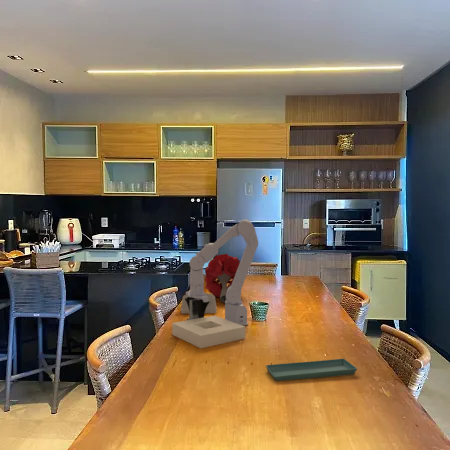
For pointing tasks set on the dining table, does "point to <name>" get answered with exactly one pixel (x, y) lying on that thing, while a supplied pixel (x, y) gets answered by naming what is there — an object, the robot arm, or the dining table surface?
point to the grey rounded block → (209, 309)
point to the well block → (208, 331)
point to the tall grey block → (193, 309)
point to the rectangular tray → (311, 369)
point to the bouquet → (221, 274)
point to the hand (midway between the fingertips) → (196, 315)
